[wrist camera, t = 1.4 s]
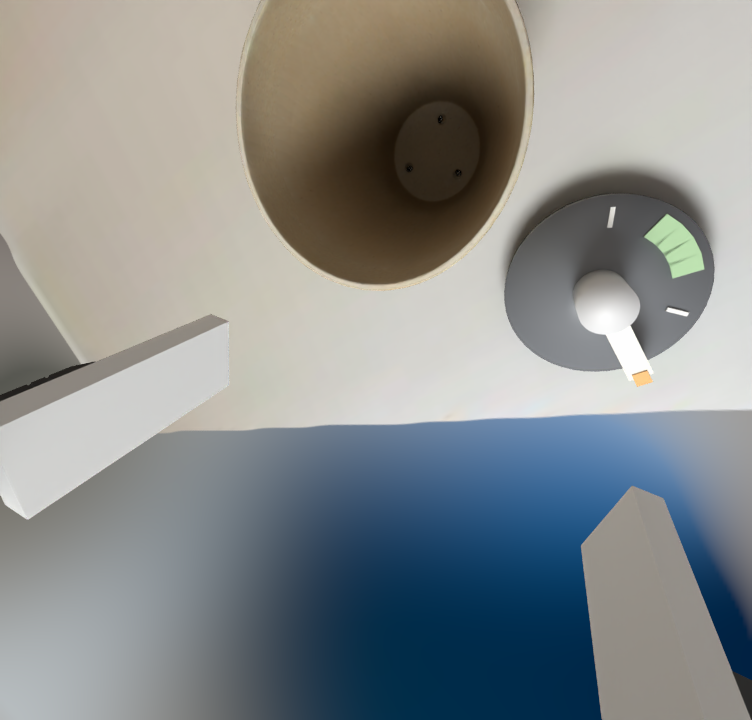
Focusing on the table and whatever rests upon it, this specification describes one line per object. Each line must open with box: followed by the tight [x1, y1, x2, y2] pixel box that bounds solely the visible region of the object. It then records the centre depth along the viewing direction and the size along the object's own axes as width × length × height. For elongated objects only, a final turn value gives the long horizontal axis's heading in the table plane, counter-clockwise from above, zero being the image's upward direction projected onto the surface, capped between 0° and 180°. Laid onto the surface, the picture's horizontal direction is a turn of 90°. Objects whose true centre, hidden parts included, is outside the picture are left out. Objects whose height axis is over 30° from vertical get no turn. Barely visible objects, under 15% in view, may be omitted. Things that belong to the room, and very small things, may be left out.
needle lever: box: [573, 270, 653, 387], centre depth 27 cm, size 9×4×4 cm, turn 36°
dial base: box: [504, 193, 714, 371], centre depth 29 cm, size 14×14×2 cm
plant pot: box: [236, 0, 534, 291], centre depth 24 cm, size 15×15×16 cm
